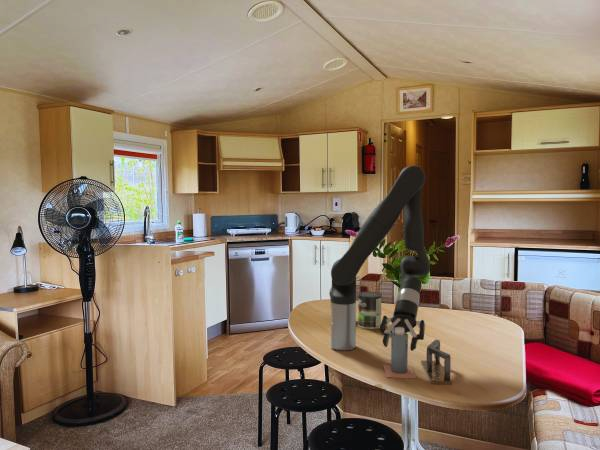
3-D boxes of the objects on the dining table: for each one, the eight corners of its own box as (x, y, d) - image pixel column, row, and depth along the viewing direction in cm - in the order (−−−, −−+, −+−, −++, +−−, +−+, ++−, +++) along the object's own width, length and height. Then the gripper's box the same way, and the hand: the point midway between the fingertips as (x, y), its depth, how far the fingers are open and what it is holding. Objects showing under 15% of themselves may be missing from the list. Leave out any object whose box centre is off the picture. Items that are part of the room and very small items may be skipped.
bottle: (392, 373, 149) (392, 330, 148) (390, 367, 154) (390, 325, 153) (408, 373, 149) (409, 330, 148) (406, 367, 154) (406, 326, 153)
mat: (387, 377, 147) (387, 376, 147) (383, 365, 157) (383, 364, 157) (415, 378, 146) (416, 377, 146) (410, 366, 156) (410, 365, 156)
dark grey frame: (431, 384, 142) (432, 356, 141) (421, 363, 159) (421, 338, 158) (451, 384, 142) (452, 356, 141) (438, 363, 159) (439, 338, 158)
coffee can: (365, 330, 196) (365, 297, 195) (353, 324, 206) (353, 292, 205) (386, 327, 201) (386, 295, 200) (373, 321, 210) (373, 290, 209)
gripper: (384, 296, 160) (374, 339, 150) (427, 300, 153) (419, 345, 144) (388, 308, 165) (379, 350, 155) (429, 312, 159) (422, 356, 149)
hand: (398, 347), depth 150 cm, fingers open, 8 cm apart
